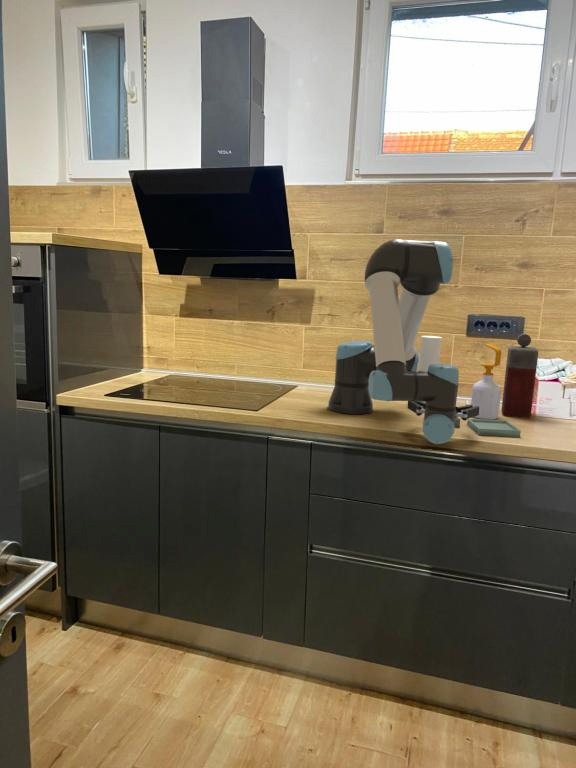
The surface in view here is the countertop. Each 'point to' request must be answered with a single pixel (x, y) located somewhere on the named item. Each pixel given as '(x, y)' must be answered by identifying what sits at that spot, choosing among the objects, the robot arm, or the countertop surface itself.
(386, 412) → the countertop surface
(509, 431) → the tray
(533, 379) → the dark red bottle
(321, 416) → the countertop surface
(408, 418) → the countertop surface
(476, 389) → the soap bottle
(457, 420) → the socket collar
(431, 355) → the cylindrical container
